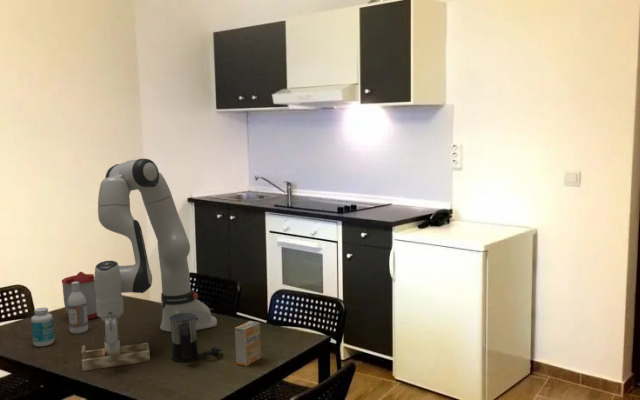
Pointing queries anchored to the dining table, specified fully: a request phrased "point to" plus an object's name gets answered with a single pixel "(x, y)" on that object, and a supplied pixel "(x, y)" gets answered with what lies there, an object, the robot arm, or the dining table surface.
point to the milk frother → (185, 338)
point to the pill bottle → (42, 327)
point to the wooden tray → (115, 357)
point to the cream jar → (107, 348)
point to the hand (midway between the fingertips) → (113, 347)
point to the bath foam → (77, 310)
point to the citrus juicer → (82, 291)
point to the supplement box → (247, 343)
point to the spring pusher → (103, 352)
